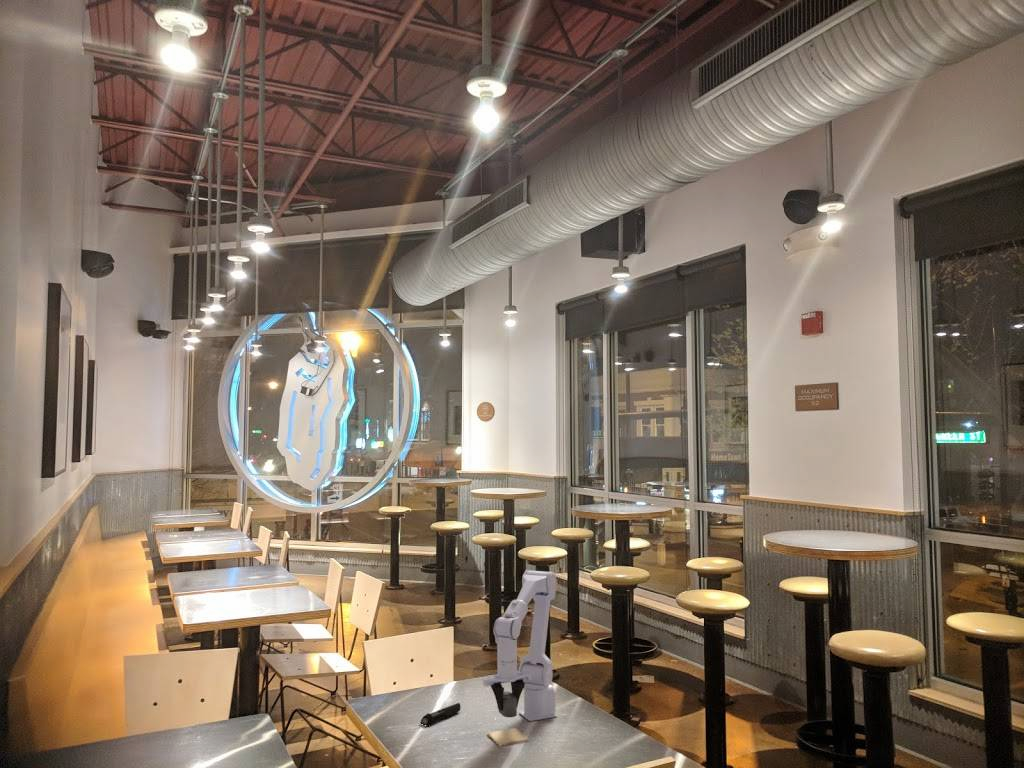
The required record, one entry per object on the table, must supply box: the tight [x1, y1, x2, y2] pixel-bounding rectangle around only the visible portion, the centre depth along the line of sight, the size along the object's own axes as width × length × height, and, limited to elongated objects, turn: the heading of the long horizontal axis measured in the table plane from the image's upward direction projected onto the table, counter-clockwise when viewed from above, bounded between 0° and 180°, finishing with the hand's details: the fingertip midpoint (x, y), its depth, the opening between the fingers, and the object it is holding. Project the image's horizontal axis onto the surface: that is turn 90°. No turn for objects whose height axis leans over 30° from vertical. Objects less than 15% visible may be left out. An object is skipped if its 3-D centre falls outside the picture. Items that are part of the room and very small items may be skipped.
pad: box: [487, 727, 529, 747], centre depth 216 cm, size 9×9×1 cm
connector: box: [498, 691, 518, 718], centre depth 218 cm, size 9×4×5 cm, turn 24°
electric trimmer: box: [420, 702, 461, 727], centre depth 232 cm, size 4×16×3 cm, turn 140°
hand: (507, 708), depth 217 cm, fingers closed on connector, 4 cm apart
